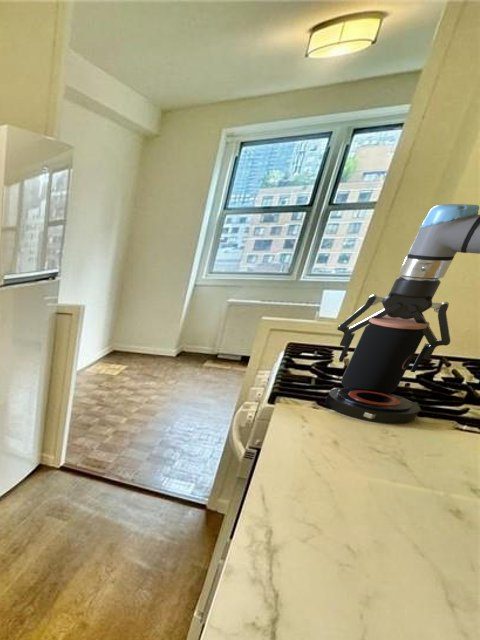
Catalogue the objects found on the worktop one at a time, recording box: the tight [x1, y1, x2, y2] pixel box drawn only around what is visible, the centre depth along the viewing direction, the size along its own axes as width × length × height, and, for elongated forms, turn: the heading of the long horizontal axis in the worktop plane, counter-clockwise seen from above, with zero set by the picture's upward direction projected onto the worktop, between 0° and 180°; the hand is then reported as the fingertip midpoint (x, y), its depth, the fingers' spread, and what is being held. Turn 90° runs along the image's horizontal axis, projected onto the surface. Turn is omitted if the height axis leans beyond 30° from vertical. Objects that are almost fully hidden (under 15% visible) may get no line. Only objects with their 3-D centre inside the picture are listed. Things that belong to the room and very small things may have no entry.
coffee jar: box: [340, 315, 431, 394], centre depth 122 cm, size 11×11×18 cm
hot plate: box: [324, 387, 421, 425], centre depth 115 cm, size 16×16×3 cm
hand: (375, 364), depth 123 cm, fingers open, 13 cm apart
